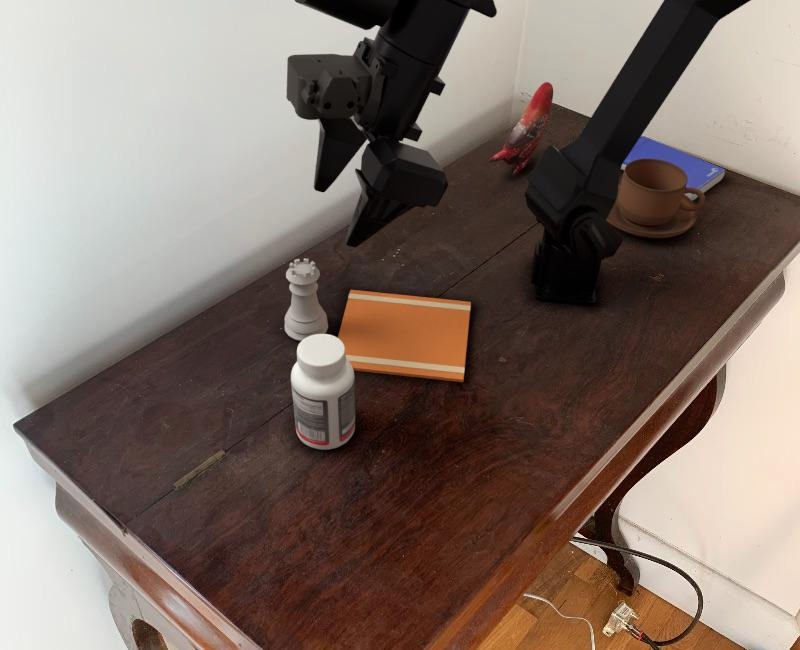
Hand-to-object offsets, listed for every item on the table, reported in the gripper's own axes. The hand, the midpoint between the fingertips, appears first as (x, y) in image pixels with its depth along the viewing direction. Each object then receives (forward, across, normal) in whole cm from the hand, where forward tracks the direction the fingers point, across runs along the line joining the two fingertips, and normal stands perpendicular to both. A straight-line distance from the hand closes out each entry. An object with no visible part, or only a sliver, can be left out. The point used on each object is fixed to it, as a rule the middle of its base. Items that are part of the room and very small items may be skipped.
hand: (333, 217), depth 71 cm
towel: (+10, +2, +12) cm, 16 cm away
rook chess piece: (+14, -2, +4) cm, 15 cm away
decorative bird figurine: (-1, -23, +35) cm, 41 cm away
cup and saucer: (-5, -8, +44) cm, 45 cm away
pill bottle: (+15, +12, +2) cm, 19 cm away
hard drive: (-9, -17, +52) cm, 56 cm away
